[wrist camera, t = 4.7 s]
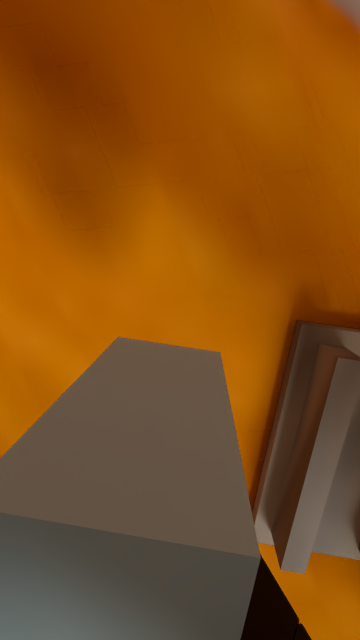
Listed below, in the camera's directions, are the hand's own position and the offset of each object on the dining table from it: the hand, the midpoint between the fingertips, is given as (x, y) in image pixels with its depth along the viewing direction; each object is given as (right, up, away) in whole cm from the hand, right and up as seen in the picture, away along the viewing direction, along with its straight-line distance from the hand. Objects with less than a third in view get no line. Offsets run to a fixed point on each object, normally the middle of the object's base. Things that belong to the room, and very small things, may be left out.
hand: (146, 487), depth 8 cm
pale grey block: (0, 0, +2) cm, 2 cm away
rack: (+12, -4, +12) cm, 18 cm away
